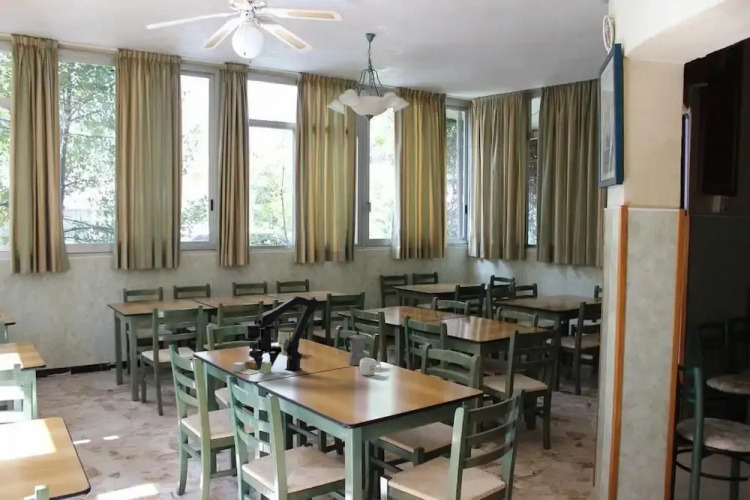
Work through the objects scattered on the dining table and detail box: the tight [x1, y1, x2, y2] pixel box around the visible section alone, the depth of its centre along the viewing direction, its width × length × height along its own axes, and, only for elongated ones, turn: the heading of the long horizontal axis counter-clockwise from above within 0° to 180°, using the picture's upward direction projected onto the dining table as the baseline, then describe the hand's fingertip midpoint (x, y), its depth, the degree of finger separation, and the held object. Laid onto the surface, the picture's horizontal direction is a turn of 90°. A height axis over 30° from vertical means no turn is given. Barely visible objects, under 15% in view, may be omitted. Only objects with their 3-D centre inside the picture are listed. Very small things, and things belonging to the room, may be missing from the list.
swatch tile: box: [239, 369, 261, 376], centre depth 327 cm, size 7×7×1 cm
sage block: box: [258, 360, 272, 374], centre depth 329 cm, size 4×4×5 cm
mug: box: [359, 357, 382, 376], centre depth 330 cm, size 12×8×8 cm
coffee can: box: [277, 326, 296, 355], centre depth 377 cm, size 10×10×14 cm
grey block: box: [232, 361, 246, 373], centre depth 330 cm, size 4×4×4 cm
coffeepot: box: [343, 331, 368, 366], centre depth 352 cm, size 15×9×18 cm, turn 129°
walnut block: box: [244, 358, 258, 371], centre depth 336 cm, size 6×6×4 cm
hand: (265, 368), depth 329 cm, fingers open, 9 cm apart
